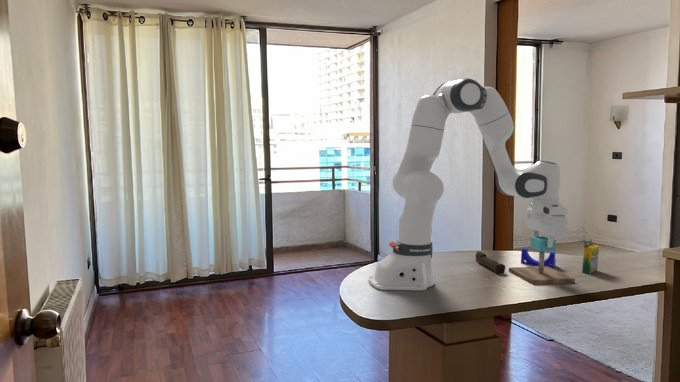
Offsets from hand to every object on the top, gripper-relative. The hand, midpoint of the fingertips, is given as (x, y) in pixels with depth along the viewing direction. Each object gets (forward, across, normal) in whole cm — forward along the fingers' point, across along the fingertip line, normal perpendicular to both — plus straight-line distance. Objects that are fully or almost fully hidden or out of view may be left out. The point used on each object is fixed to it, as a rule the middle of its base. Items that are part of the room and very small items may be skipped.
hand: (542, 244), depth 176 cm
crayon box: (+12, -4, +23) cm, 26 cm away
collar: (+2, 0, 0) cm, 2 cm away
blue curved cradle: (+12, -16, +9) cm, 22 cm away
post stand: (+12, 0, 0) cm, 12 cm away
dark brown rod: (+12, -15, -14) cm, 24 cm away
